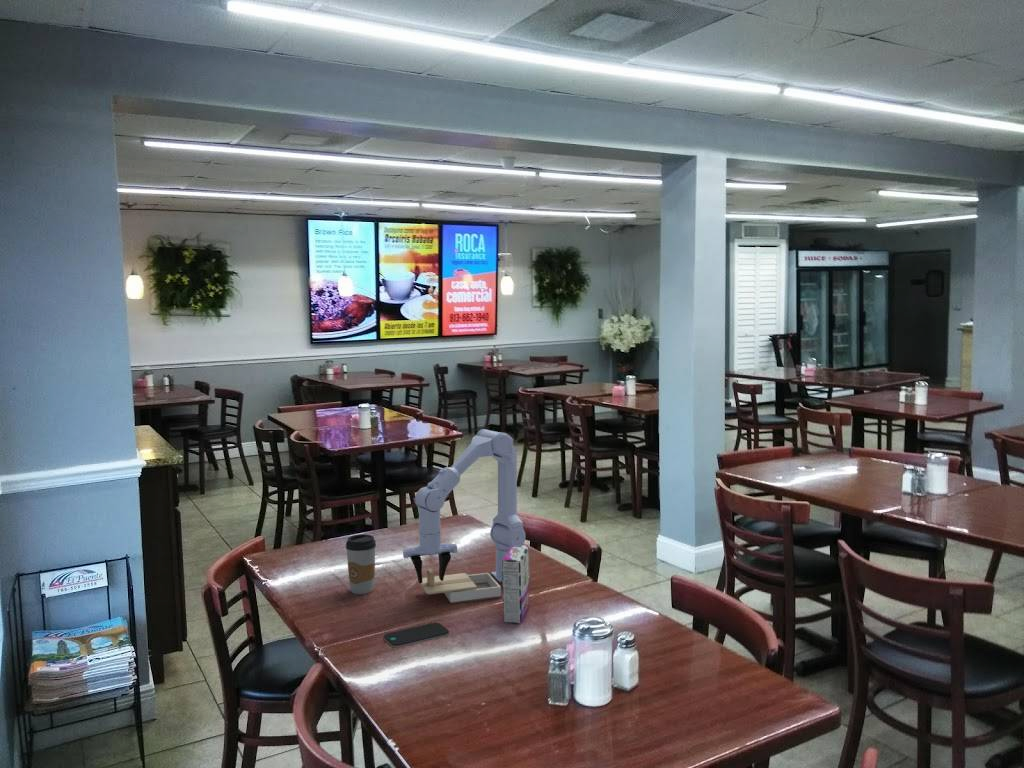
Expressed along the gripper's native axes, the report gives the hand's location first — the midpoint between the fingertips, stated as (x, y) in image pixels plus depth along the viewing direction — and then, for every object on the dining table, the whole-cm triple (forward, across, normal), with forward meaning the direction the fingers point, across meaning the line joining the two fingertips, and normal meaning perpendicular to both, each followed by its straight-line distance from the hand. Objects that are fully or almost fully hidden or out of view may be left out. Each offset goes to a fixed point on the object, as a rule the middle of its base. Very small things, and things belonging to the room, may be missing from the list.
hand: (430, 580), depth 214 cm
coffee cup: (+5, +17, -12) cm, 21 cm away
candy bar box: (+5, -18, +19) cm, 27 cm away
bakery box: (+5, -11, 0) cm, 12 cm away
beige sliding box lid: (+1, -5, 0) cm, 5 cm away
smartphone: (+5, +9, +23) cm, 25 cm away
